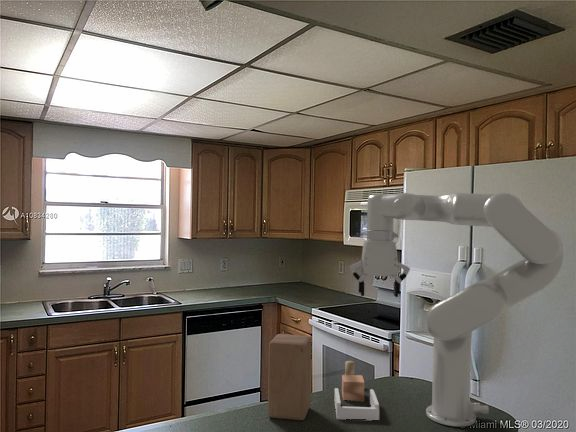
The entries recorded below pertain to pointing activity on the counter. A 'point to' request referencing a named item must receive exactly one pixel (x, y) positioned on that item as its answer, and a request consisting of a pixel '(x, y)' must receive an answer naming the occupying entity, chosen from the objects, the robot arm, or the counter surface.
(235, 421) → the counter surface
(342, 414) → the white u-shaped bracket
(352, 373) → the block
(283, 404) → the wooden block
